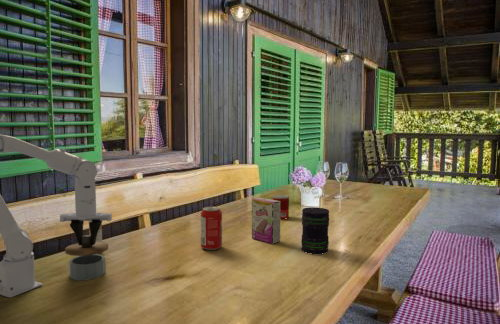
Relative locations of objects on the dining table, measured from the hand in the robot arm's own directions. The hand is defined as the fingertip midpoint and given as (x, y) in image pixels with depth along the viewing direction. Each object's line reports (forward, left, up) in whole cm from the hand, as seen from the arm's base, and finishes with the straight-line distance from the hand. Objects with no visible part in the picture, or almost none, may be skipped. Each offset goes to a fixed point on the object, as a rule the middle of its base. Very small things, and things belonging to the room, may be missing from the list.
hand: (87, 244), depth 119 cm
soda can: (+39, -19, -10) cm, 45 cm away
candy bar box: (+57, -33, -10) cm, 67 cm away
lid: (0, 0, -2) cm, 3 cm away
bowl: (0, +1, -9) cm, 9 cm away
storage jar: (+54, -54, -10) cm, 77 cm away
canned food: (+95, -24, -10) cm, 99 cm away
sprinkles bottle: (+16, +15, -10) cm, 24 cm away
